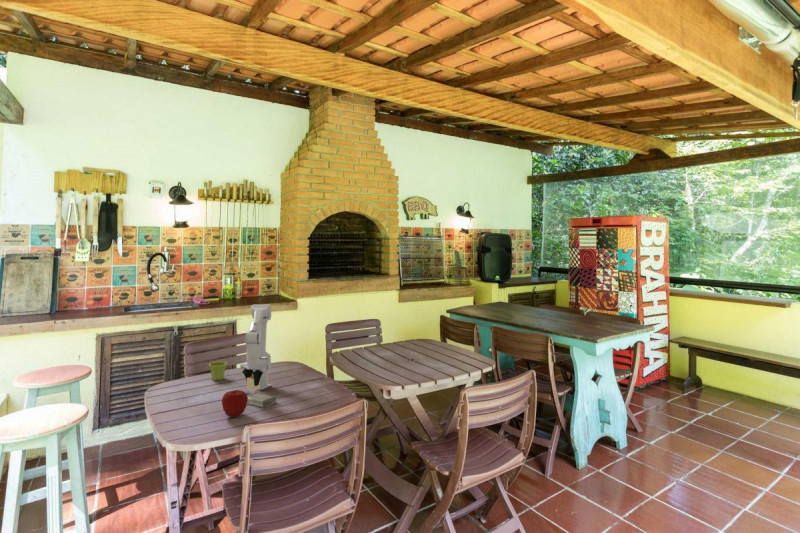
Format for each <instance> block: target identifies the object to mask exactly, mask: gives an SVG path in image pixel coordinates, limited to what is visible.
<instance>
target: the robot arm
mask: <svg viewBox="0 0 800 533" xmlns="http://www.w3.org/2000/svg"><path fill="white" fill-rule="evenodd" d="M250 315H251V316H252V319H253V321H252V322H251V323H250V325H249V328H248V332H247V333H245V337H244V338H245V340H244V342H245V348H246V363H241V364H239V365H240V366H239V369H243V370H241V372H242V374H243V375H244V378H245V379H246V382H247V378H248V377H250V376H254V385H255V386H257V385H259V382H260V389H259V390H260V391H261V390H265V389H267V388H269V387H271V386H272V384H271V383H270V384H269V370H270V369H271V366H272V358H271V357H272V356H271V354H270V353H269V352H267V351H266V350H267V349H266V347H267V326H268V325H267V324H268V321H271V319H272V305H271V304H270V303H269V304H252V305H251V307H250Z"/></svg>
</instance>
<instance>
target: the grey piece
mask: <svg viewBox="0 0 800 533" xmlns="http://www.w3.org/2000/svg"><path fill="white" fill-rule="evenodd" d="M276 402H277V396H276V395H273V396H269V395H264V394H259V393H254V392H250V393H249V396H248V400H247V405H250V406H255V407H259V408H263V409H264V408H266V407H269V406H271V405H273V404H275V403H276Z"/></svg>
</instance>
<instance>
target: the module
mask: <svg viewBox="0 0 800 533" xmlns="http://www.w3.org/2000/svg"><path fill="white" fill-rule="evenodd" d="M258 390H260V382H259V385H257V386H255V385H254V376H250V377H248V378H247V381H246V391H250V392H256V391H258Z"/></svg>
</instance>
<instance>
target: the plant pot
mask: <svg viewBox="0 0 800 533" xmlns="http://www.w3.org/2000/svg"><path fill="white" fill-rule="evenodd" d="M227 364H228V362H227V361H226V362H225V361H215V362H214V361H213V362H210V363H209V364H208V366H209V369H210V374H211V380H212V381H221V380H223V379H224V378H225V371H226V367H227Z"/></svg>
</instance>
